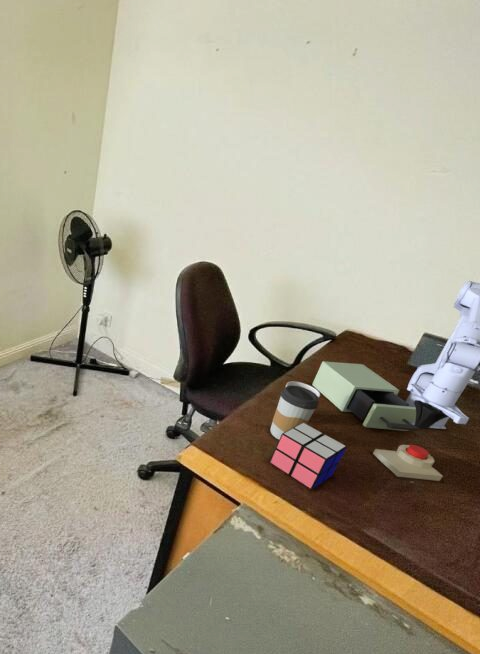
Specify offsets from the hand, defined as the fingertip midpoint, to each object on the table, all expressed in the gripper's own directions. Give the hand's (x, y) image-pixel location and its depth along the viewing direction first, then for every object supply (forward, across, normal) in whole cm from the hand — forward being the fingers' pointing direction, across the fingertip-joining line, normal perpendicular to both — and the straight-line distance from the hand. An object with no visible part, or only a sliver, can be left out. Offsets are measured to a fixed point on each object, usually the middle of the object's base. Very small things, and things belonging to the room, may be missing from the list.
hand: (420, 427), depth 110 cm
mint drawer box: (+8, -23, 0) cm, 24 cm away
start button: (+5, +6, -4) cm, 8 cm away
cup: (+8, -11, -24) cm, 28 cm away
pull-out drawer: (+7, -12, 0) cm, 14 cm away
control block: (+8, +7, -6) cm, 12 cm away
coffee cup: (+8, -1, -32) cm, 33 cm away
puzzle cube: (+8, +12, -35) cm, 38 cm away
